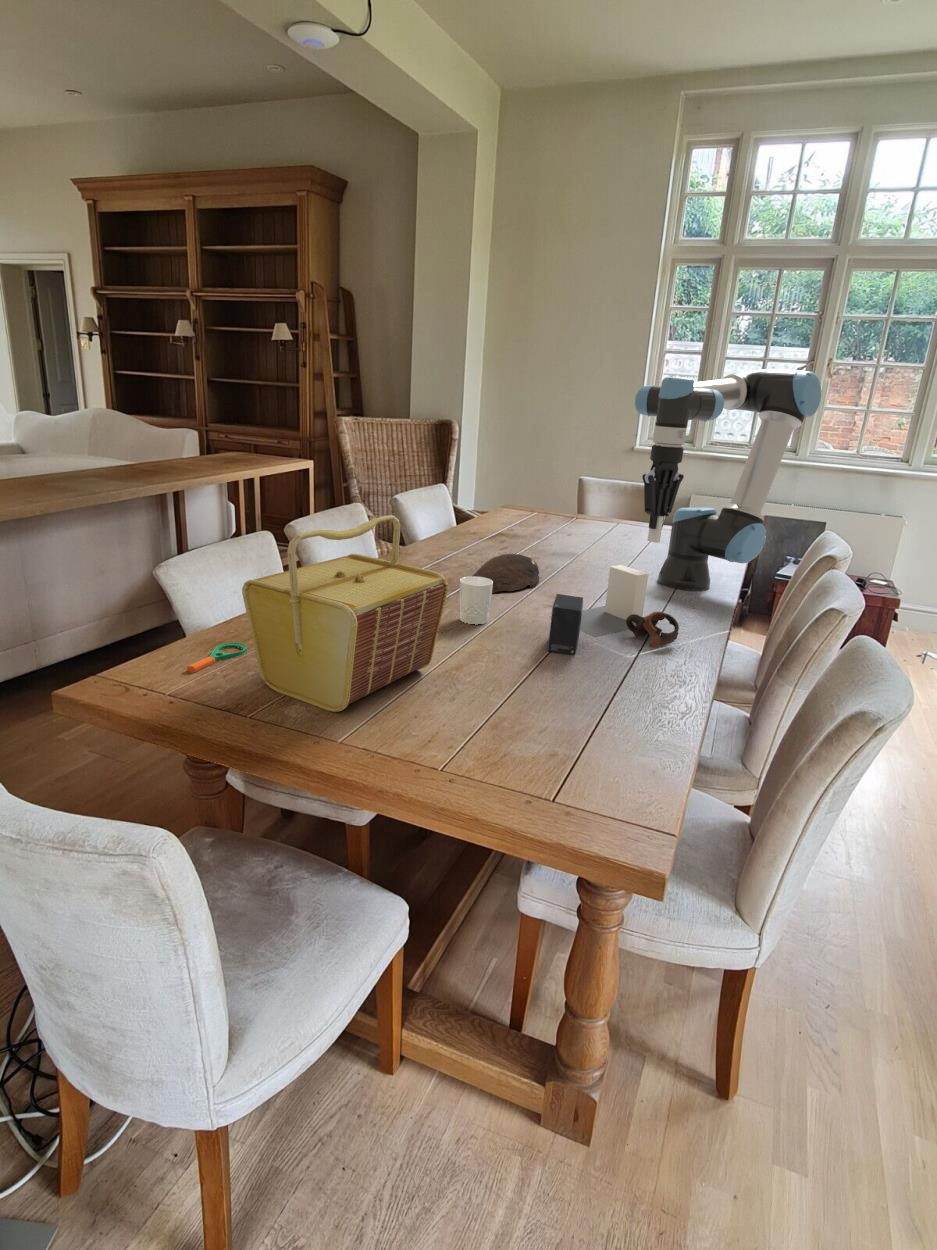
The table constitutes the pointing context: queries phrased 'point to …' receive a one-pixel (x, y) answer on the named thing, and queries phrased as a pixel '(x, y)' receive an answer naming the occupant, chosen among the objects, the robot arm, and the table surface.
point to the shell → (510, 572)
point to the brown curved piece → (653, 627)
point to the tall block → (626, 591)
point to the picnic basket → (343, 622)
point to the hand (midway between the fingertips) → (653, 541)
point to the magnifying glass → (217, 656)
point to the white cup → (475, 599)
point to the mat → (601, 622)
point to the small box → (565, 624)
